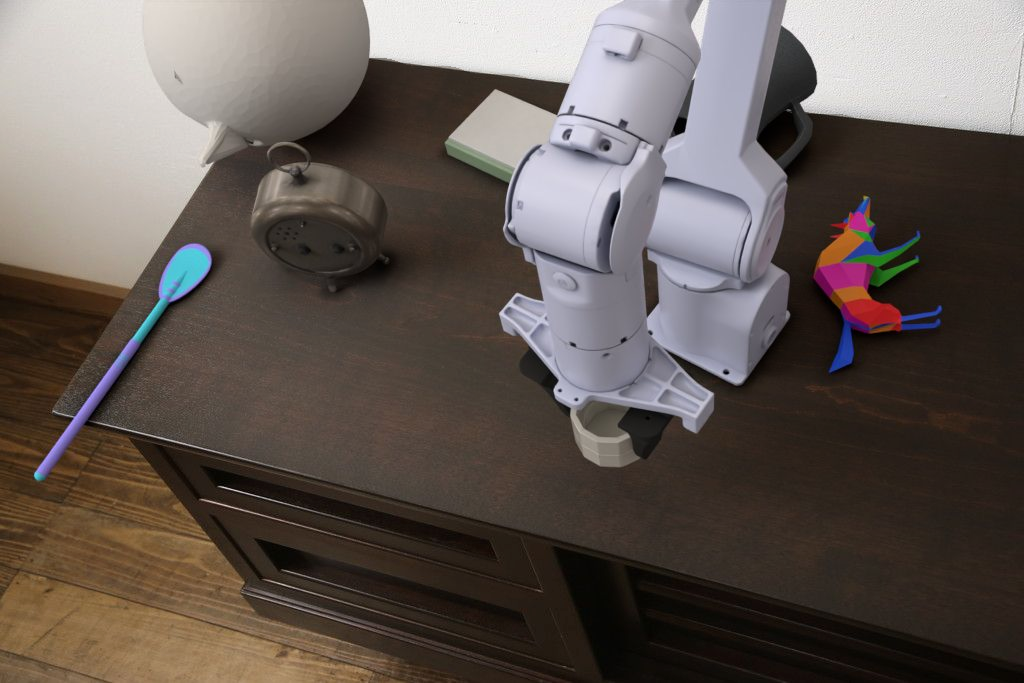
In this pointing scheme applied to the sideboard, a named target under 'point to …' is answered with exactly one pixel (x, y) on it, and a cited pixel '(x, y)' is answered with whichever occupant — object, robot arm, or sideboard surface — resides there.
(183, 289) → the spoon
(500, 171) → the scale
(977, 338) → the sideboard surface
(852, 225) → the figurine
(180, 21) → the mask
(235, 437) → the sideboard surface
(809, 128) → the mug
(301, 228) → the alarm clock
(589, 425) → the bowl
